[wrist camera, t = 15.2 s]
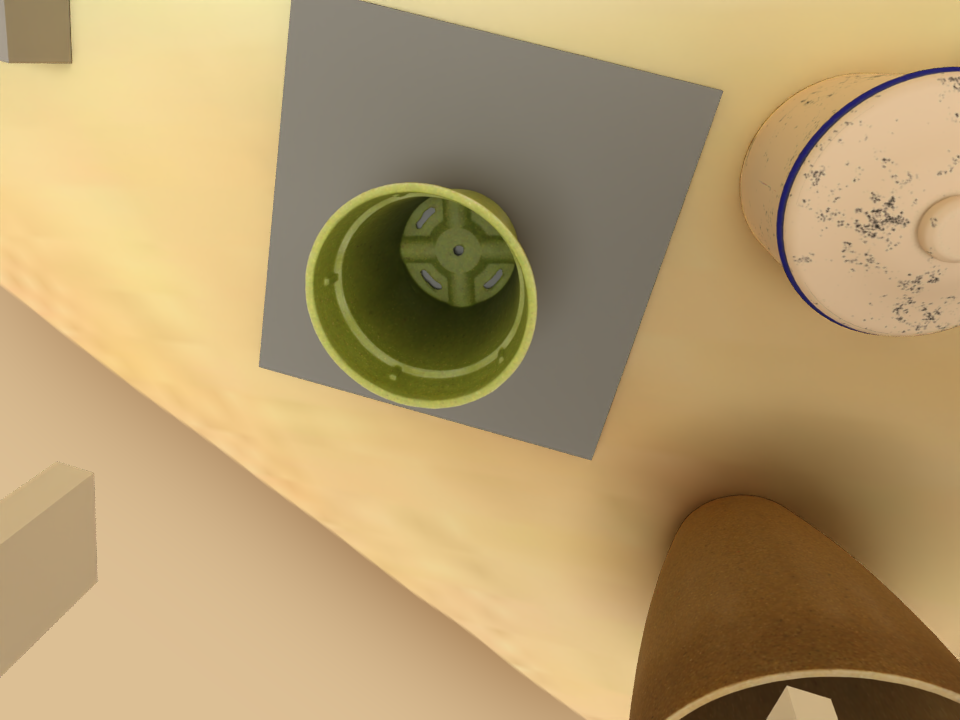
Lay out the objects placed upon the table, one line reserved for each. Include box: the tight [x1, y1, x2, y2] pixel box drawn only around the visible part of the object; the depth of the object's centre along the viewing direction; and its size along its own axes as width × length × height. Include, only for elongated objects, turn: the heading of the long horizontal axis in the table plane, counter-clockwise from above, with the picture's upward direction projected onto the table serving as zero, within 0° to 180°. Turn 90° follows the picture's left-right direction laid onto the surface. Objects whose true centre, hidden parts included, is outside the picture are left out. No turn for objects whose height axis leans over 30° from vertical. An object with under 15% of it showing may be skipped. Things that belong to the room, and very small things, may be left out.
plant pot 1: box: [305, 182, 537, 409], centre depth 30 cm, size 9×9×9 cm
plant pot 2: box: [629, 495, 960, 720], centre depth 32 cm, size 15×15×16 cm
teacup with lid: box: [740, 67, 960, 337], centre depth 25 cm, size 12×9×12 cm
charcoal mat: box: [259, 0, 723, 460], centre depth 34 cm, size 20×20×1 cm
